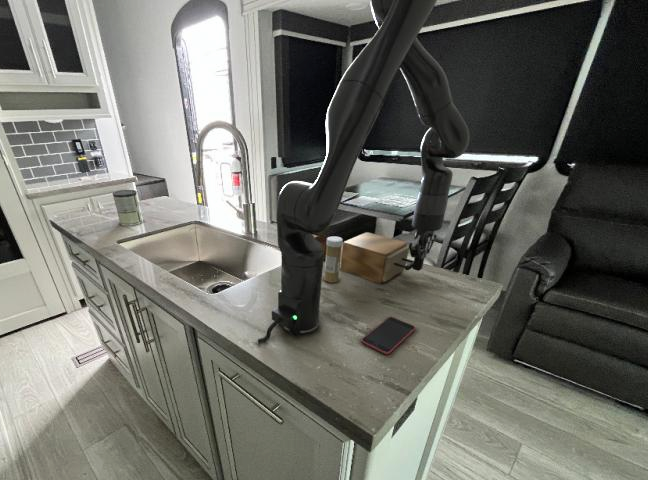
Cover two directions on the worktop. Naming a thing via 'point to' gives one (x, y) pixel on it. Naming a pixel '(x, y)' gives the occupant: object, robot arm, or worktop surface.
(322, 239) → the cup and saucer
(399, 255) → the drawer
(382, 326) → the smartphone
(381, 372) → the worktop surface
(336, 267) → the sprinkles bottle
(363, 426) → the worktop surface
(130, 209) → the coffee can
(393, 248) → the cabinet
